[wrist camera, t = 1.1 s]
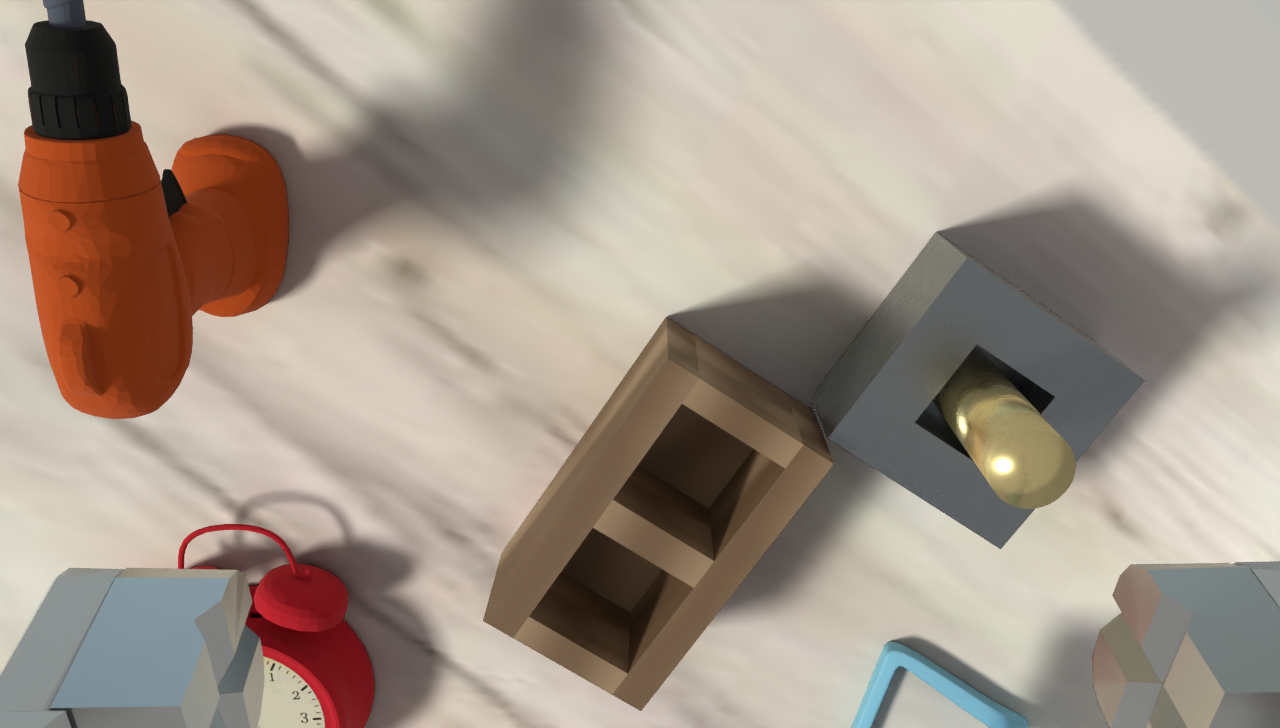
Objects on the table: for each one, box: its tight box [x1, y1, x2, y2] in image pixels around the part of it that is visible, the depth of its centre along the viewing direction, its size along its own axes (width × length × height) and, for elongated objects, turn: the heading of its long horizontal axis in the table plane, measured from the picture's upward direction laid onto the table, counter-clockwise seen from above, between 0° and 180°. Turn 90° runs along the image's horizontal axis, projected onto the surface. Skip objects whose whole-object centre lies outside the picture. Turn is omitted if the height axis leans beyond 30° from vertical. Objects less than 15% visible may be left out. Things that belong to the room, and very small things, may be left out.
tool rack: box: [483, 317, 834, 711], centre depth 49 cm, size 8×14×6 cm, turn 146°
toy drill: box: [18, 0, 289, 419], centre depth 39 cm, size 5×19×15 cm, turn 176°
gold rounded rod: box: [932, 347, 1076, 509], centre depth 44 cm, size 3×3×10 cm
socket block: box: [811, 232, 1145, 549], centre depth 47 cm, size 9×9×5 cm
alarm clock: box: [178, 524, 375, 728], centre depth 53 cm, size 10×6×15 cm
